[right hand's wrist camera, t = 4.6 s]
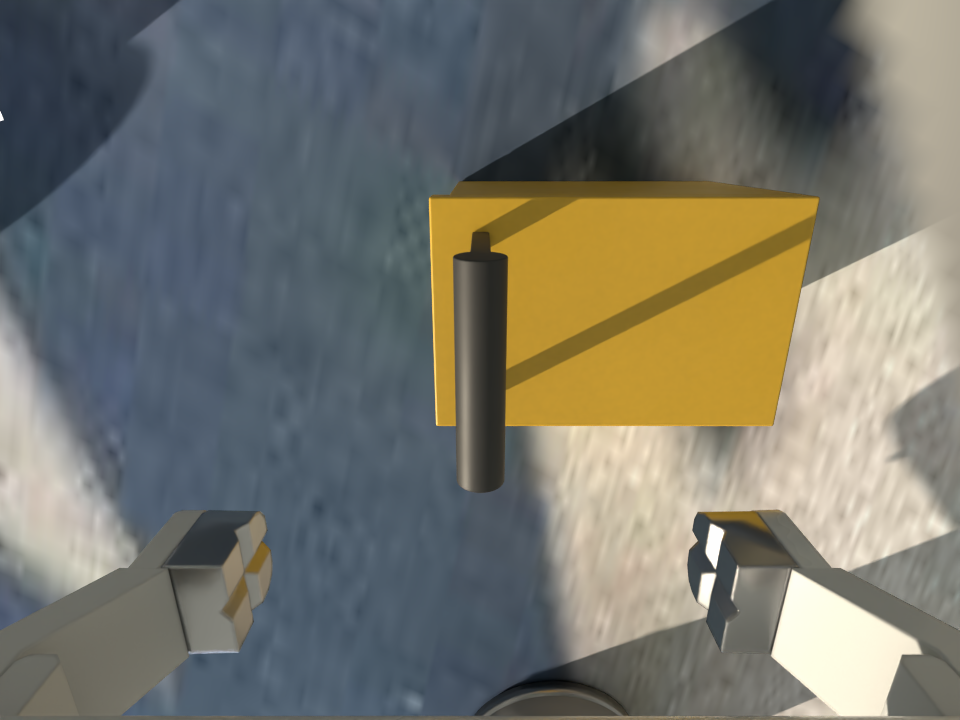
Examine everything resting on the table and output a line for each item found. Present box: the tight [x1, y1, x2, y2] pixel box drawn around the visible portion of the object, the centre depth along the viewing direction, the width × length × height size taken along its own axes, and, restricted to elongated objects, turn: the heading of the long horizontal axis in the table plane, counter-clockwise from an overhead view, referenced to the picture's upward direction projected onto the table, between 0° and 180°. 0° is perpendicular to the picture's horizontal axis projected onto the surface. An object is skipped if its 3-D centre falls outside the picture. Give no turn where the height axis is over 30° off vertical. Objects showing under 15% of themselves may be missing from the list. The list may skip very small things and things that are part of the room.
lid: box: [429, 195, 820, 493], centre depth 22 cm, size 16×10×8 cm, turn 90°
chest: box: [450, 181, 802, 195], centre depth 31 cm, size 15×10×11 cm
